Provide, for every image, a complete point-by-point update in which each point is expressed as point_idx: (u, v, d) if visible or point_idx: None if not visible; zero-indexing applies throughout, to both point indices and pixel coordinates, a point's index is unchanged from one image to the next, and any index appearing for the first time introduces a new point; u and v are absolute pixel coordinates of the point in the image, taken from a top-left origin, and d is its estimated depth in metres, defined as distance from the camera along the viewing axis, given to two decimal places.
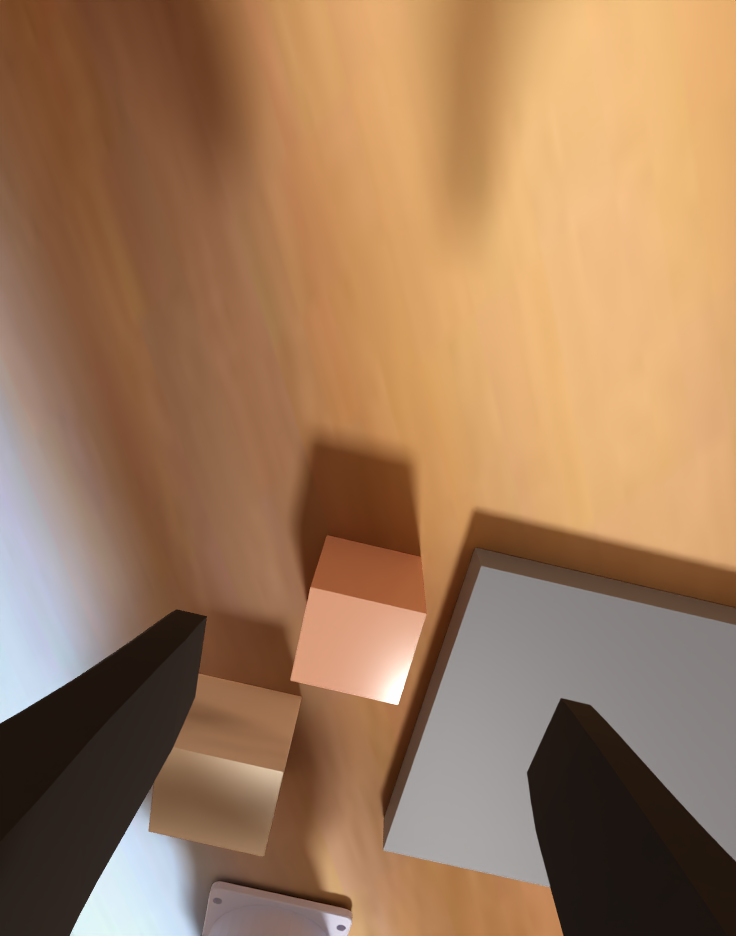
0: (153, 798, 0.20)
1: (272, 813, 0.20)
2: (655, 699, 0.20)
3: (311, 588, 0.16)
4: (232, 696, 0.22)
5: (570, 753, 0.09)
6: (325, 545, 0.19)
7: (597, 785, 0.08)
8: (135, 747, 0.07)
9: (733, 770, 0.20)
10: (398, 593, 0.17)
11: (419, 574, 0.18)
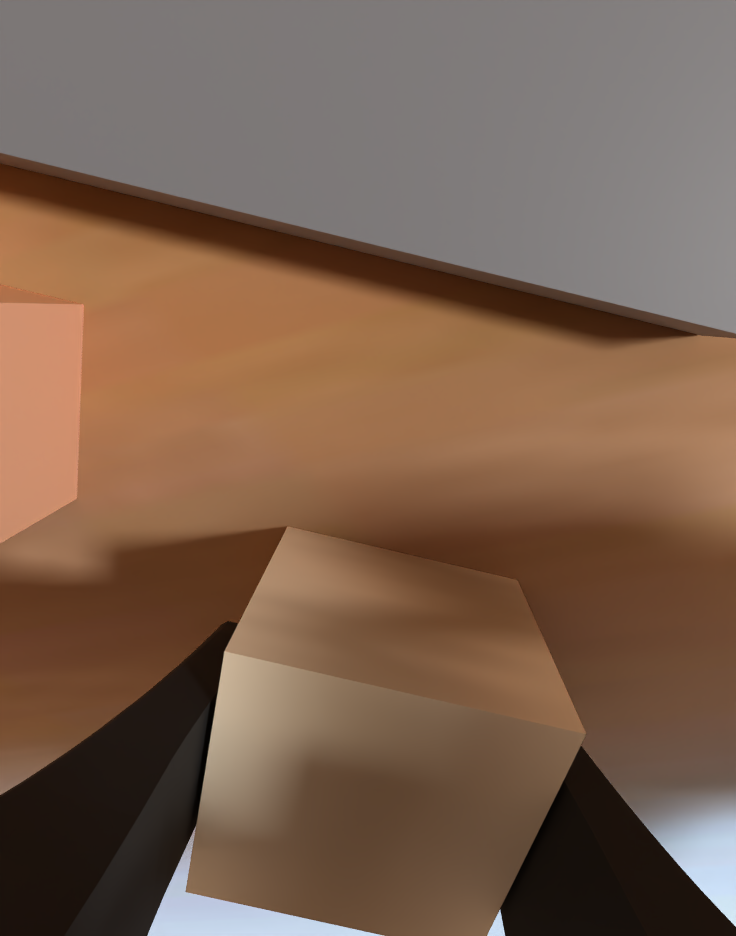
0: (361, 928, 0.08)
1: (393, 694, 0.06)
2: None
3: None
4: None
5: None
6: None
7: None
8: (201, 761, 0.07)
9: None
10: None
11: None
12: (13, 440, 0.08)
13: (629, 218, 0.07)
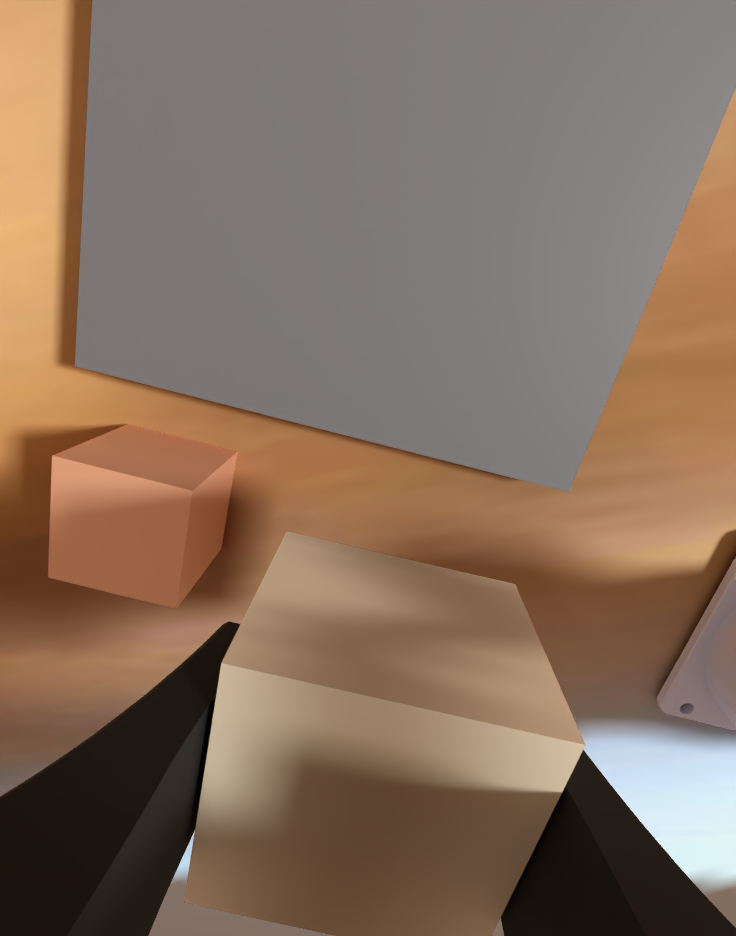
0: None
1: (391, 705, 0.06)
2: (247, 77, 0.12)
3: (49, 576, 0.15)
4: None
5: None
6: None
7: None
8: (201, 762, 0.07)
9: None
10: None
11: None
12: (210, 527, 0.16)
13: (504, 440, 0.15)
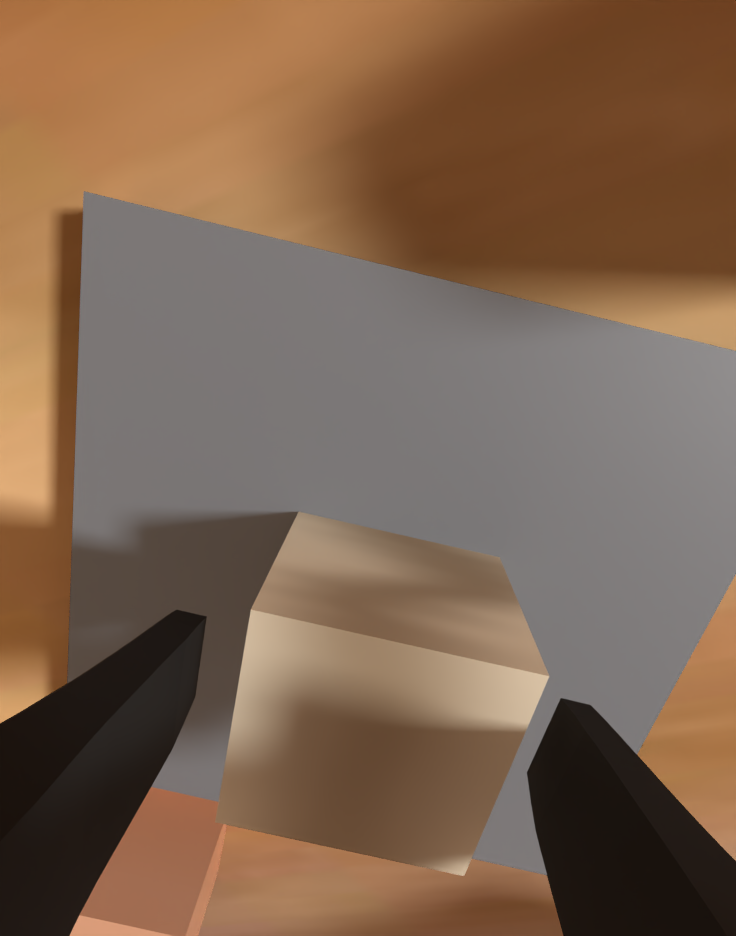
0: (365, 852, 0.09)
1: (390, 644, 0.08)
2: (232, 556, 0.12)
3: None
4: None
5: (570, 753, 0.09)
6: None
7: (597, 785, 0.08)
8: (134, 747, 0.07)
9: (375, 406, 0.11)
10: None
11: None
12: (205, 897, 0.16)
13: (502, 839, 0.15)
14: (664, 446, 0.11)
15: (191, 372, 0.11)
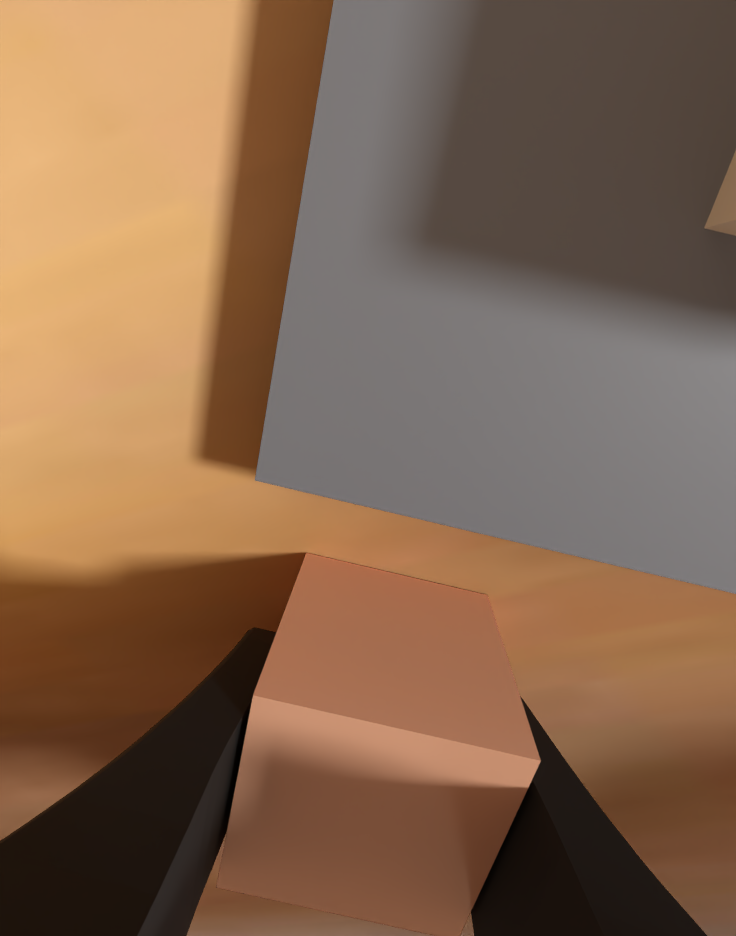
0: None
1: None
2: None
3: (219, 886, 0.08)
4: None
5: None
6: None
7: None
8: (234, 769, 0.07)
9: None
10: None
11: None
12: None
13: None
14: None
15: None
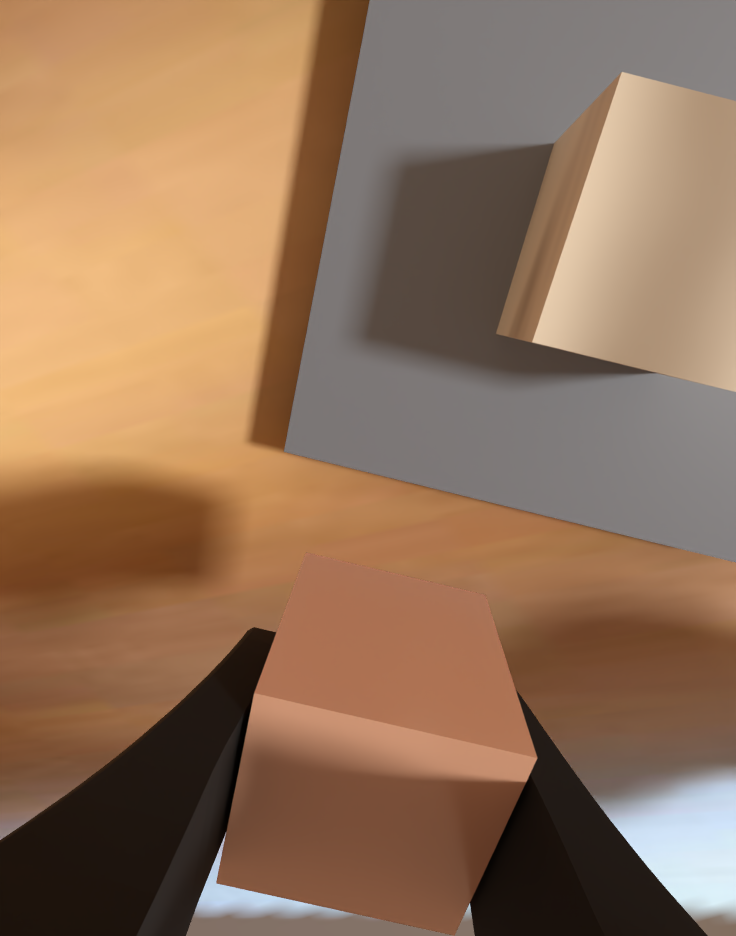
0: (664, 372, 0.11)
1: None
2: (484, 197, 0.13)
3: (219, 882, 0.08)
4: (526, 260, 0.13)
5: None
6: None
7: None
8: (234, 769, 0.07)
9: (644, 20, 0.12)
10: None
11: None
12: None
13: (690, 518, 0.16)
14: None
15: None
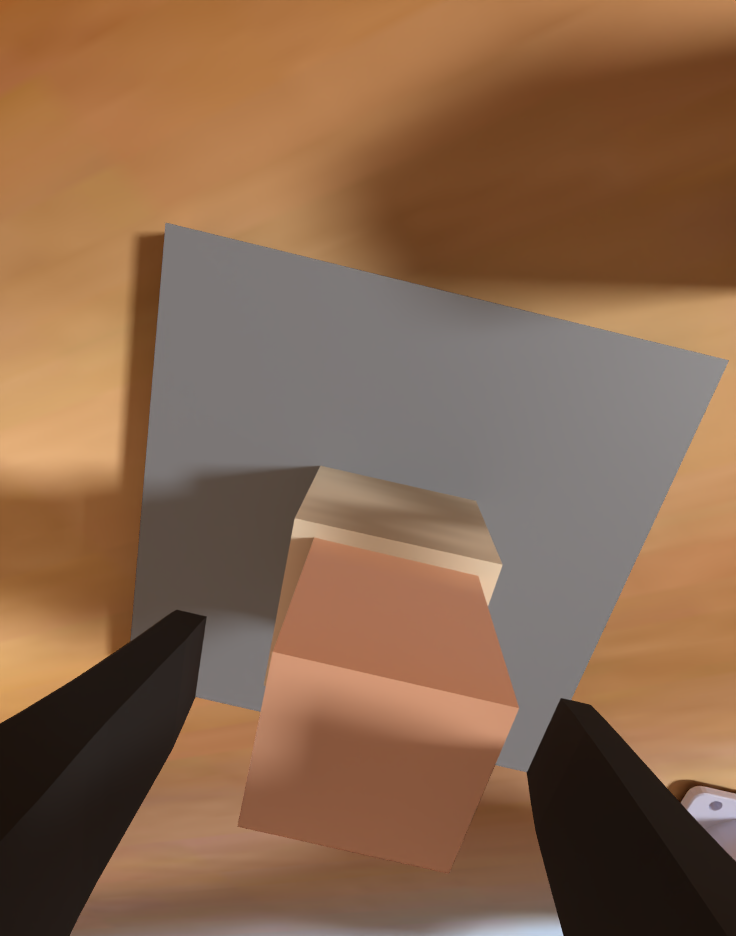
0: None
1: (391, 542, 0.11)
2: (268, 502, 0.15)
3: (240, 825, 0.09)
4: None
5: (570, 753, 0.09)
6: None
7: (597, 785, 0.08)
8: (135, 747, 0.07)
9: (380, 383, 0.14)
10: None
11: None
12: None
13: None
14: (599, 413, 0.14)
15: (241, 357, 0.14)
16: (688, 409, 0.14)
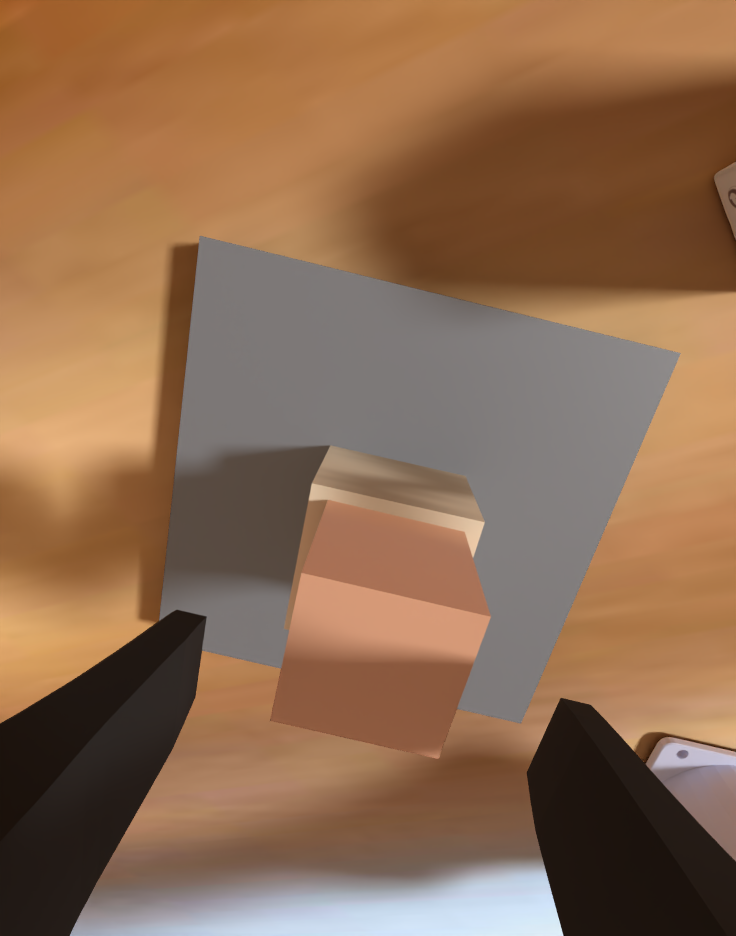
0: None
1: (392, 503, 0.13)
2: (285, 477, 0.18)
3: (272, 719, 0.11)
4: None
5: (570, 753, 0.09)
6: None
7: (597, 785, 0.08)
8: (135, 747, 0.07)
9: (382, 373, 0.16)
10: None
11: None
12: None
13: (472, 690, 0.20)
14: (570, 399, 0.16)
15: (262, 351, 0.16)
16: (647, 395, 0.16)
